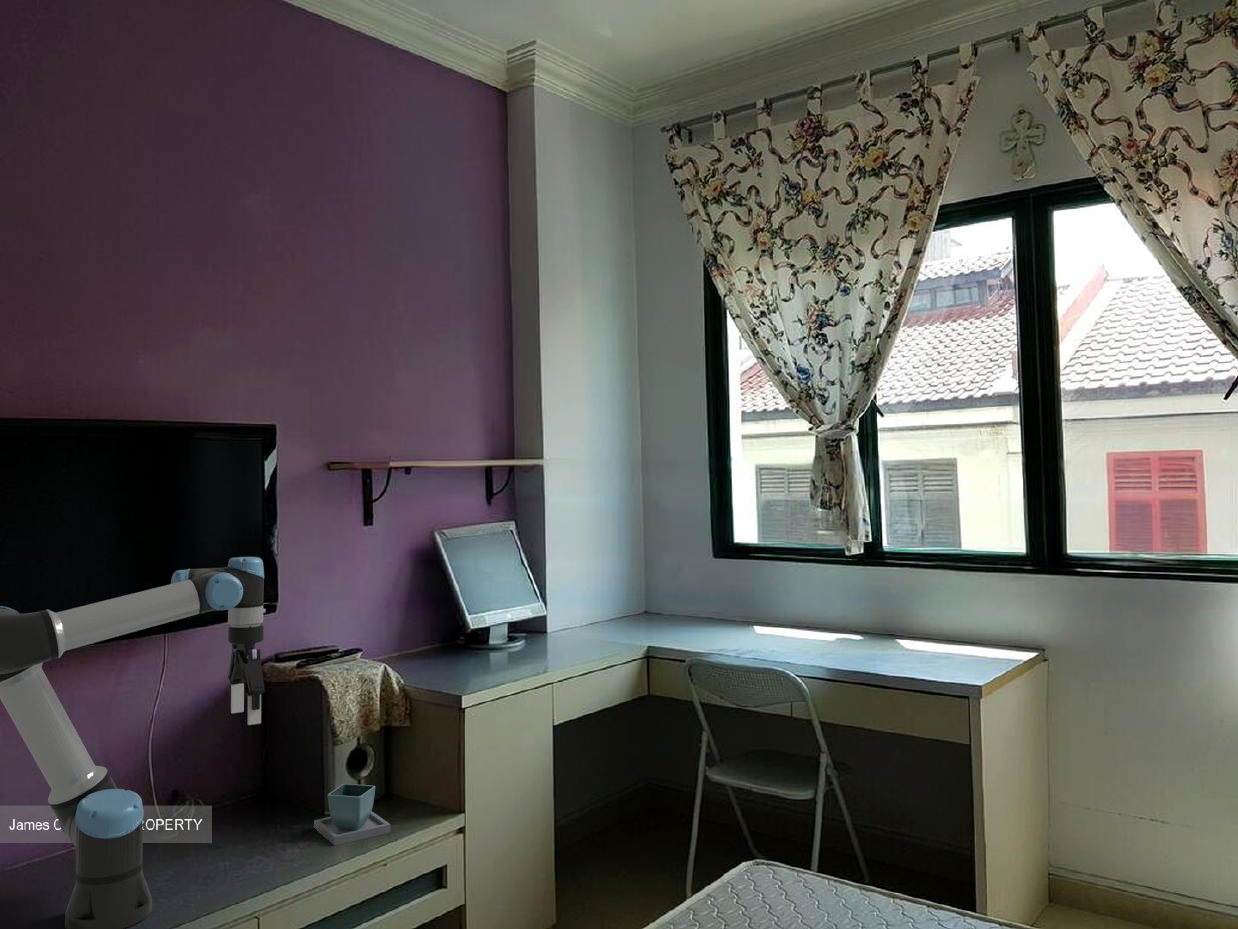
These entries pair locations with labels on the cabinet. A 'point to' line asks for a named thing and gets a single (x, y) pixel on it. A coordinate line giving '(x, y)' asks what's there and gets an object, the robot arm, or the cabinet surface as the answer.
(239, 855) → the cabinet surface
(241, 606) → the robot arm
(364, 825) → the plant tray
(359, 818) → the flower pot
